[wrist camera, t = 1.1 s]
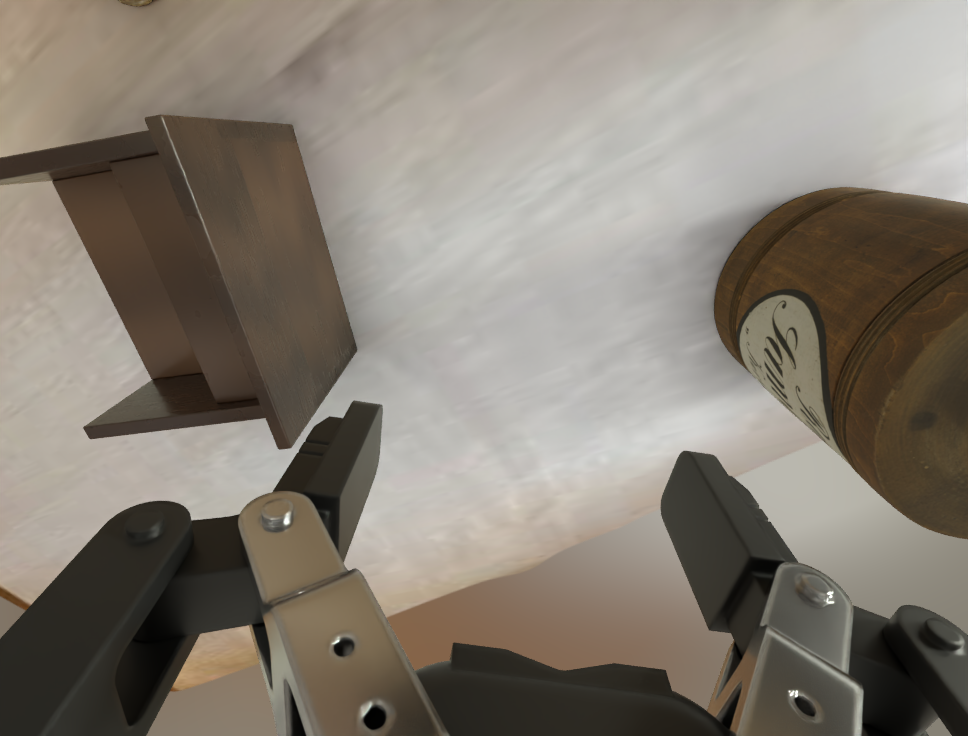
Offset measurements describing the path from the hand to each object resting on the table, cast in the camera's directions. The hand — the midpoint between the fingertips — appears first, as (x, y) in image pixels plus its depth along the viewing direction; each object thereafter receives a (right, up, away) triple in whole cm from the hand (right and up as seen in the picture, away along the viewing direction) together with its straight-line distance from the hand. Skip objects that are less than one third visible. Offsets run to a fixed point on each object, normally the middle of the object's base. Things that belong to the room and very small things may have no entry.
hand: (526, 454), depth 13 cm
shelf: (-21, +10, +24) cm, 34 cm away
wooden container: (+24, +8, +24) cm, 35 cm away
